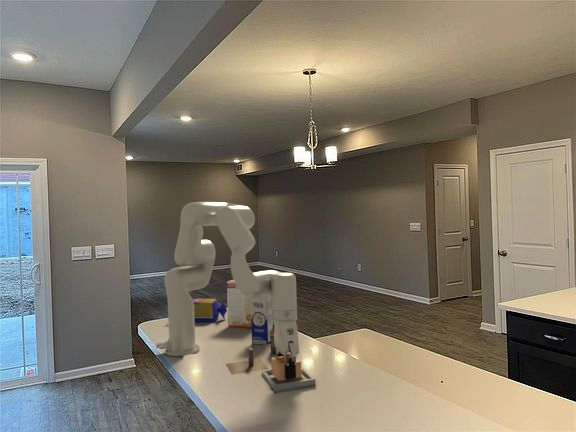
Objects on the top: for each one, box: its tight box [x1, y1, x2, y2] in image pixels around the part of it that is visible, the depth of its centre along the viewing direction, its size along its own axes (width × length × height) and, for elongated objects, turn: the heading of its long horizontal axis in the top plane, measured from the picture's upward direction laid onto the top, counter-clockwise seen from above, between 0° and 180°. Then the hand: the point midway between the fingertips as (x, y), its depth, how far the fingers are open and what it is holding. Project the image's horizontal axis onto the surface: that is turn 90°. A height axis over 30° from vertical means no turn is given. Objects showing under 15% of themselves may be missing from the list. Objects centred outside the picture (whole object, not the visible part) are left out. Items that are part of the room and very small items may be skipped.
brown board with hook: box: [225, 346, 270, 375], centre depth 135 cm, size 12×10×6 cm
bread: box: [192, 298, 228, 323], centre depth 203 cm, size 10×25×10 cm, turn 84°
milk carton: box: [251, 294, 274, 346], centre depth 164 cm, size 7×7×20 cm
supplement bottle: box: [269, 323, 277, 356], centre depth 148 cm, size 6×6×11 cm
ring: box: [270, 356, 304, 382], centre depth 124 cm, size 9×7×4 cm
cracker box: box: [226, 279, 251, 328], centre depth 190 cm, size 14×6×21 cm, turn 71°
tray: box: [261, 365, 317, 394], centre depth 124 cm, size 13×13×2 cm
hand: (286, 373), depth 124 cm, fingers open, 7 cm apart
